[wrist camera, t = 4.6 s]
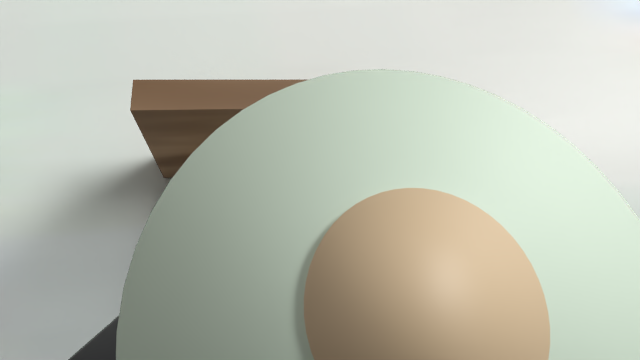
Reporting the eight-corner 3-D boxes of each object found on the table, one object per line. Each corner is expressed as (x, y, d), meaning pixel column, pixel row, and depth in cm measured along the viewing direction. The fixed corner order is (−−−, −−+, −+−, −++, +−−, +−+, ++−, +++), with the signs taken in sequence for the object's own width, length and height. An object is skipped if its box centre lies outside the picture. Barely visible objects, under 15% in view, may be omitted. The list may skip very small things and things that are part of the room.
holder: (402, 300, 23) (456, 274, 17) (156, 322, 21) (112, 302, 15) (375, 147, 27) (411, 79, 21) (165, 153, 25) (133, 80, 18)
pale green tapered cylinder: (295, 474, 13) (477, 1043, 2) (194, 343, 14) (-25, 277, 3) (403, 353, 15) (798, 326, 4) (307, 246, 16) (409, -5, 5)
